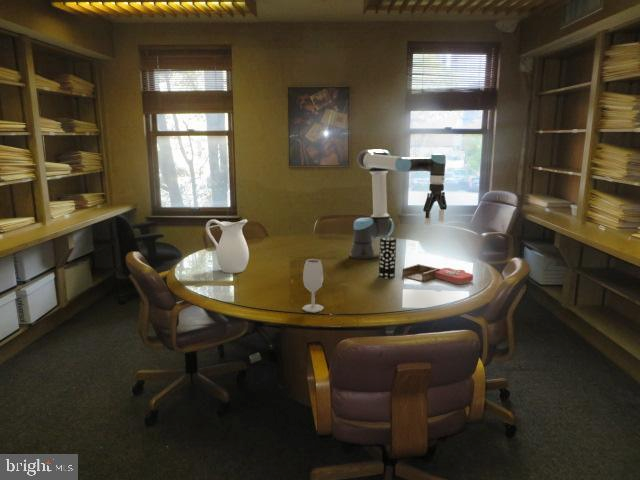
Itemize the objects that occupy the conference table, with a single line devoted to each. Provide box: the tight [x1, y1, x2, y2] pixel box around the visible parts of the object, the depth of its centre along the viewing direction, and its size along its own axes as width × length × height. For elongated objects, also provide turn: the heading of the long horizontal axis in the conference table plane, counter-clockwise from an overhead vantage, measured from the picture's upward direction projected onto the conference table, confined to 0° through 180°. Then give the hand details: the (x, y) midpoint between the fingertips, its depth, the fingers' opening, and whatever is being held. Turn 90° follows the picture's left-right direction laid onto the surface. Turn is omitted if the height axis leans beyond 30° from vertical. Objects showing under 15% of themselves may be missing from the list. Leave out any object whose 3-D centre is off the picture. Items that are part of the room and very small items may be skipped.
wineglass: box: [302, 258, 325, 313], centre depth 197 cm, size 9×9×21 cm
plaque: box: [435, 267, 474, 285], centre depth 244 cm, size 18×4×15 cm
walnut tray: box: [401, 263, 441, 283], centre depth 248 cm, size 13×14×4 cm
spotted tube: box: [378, 236, 397, 279], centre depth 247 cm, size 8×8×20 cm
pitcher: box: [205, 218, 250, 274], centre depth 256 cm, size 24×17×28 cm
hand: (434, 222), depth 258 cm, fingers open, 13 cm apart
